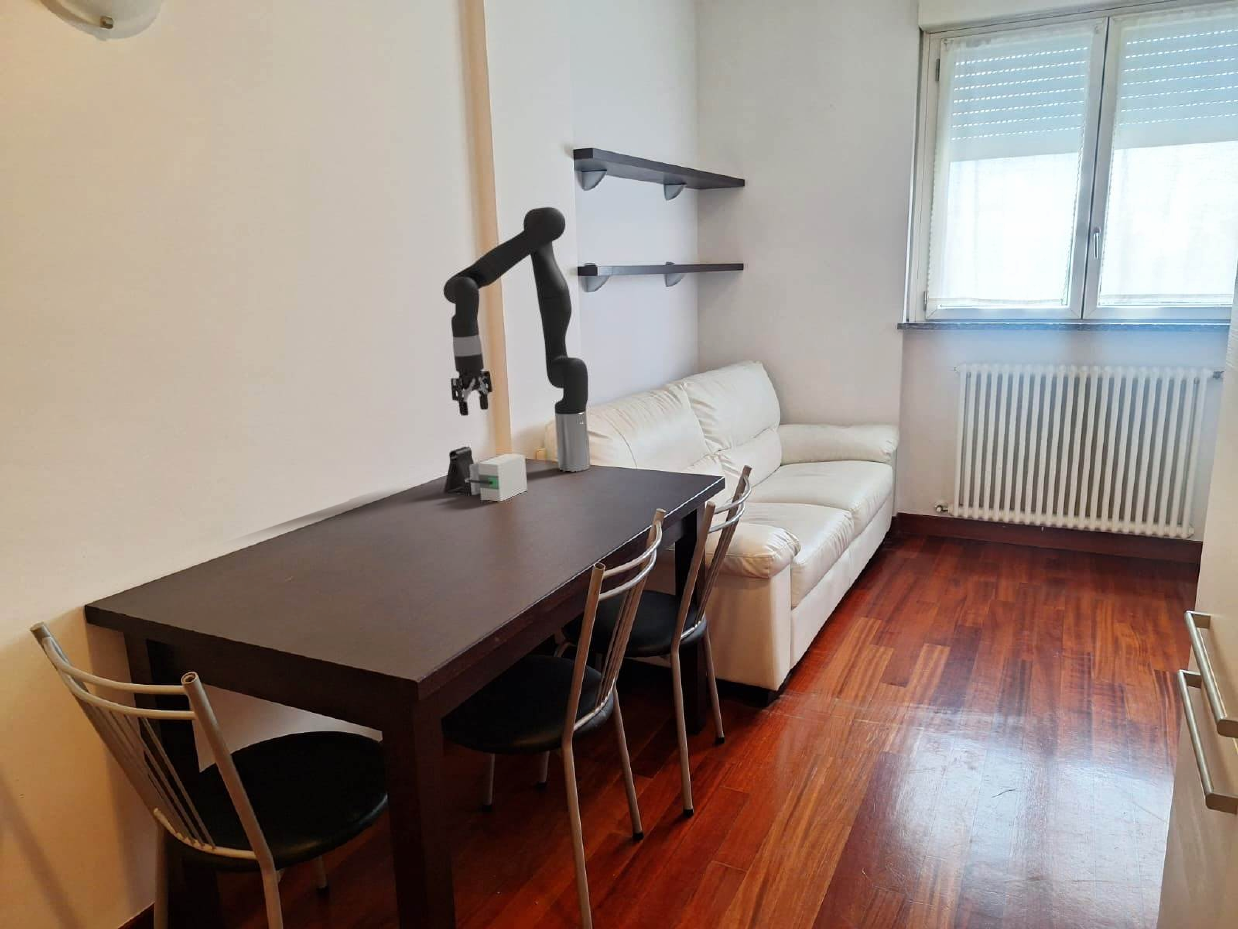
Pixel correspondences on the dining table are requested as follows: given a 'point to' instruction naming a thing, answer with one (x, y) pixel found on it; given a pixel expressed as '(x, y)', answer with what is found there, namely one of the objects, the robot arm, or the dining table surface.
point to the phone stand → (459, 471)
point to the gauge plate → (476, 478)
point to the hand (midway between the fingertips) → (474, 412)
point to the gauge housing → (502, 477)
